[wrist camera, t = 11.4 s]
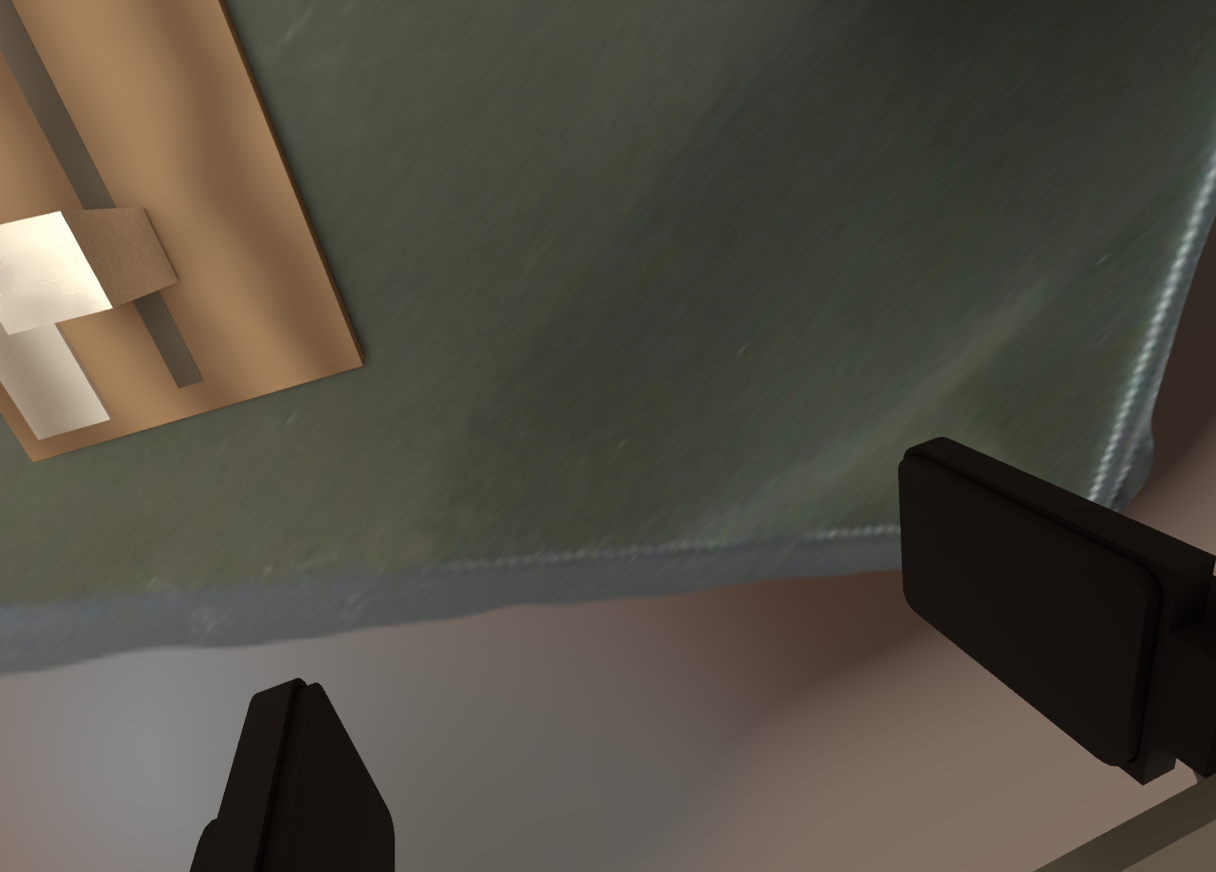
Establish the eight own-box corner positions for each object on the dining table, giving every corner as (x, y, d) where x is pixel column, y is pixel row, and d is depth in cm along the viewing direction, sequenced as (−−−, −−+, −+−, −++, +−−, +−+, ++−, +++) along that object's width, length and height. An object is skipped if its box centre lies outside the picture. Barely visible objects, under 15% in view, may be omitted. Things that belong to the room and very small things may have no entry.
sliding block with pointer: (142, 207, 29) (60, 210, 22) (179, 281, 30) (112, 308, 23) (-37, 248, 28) (-187, 267, 21) (10, 324, 29) (-116, 366, 22)
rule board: (124, -254, 26) (-20, -492, 17) (364, 357, 36) (354, 410, 27) (-363, -204, 23) (-855, -462, 14) (52, 447, 33) (-74, 540, 24)
